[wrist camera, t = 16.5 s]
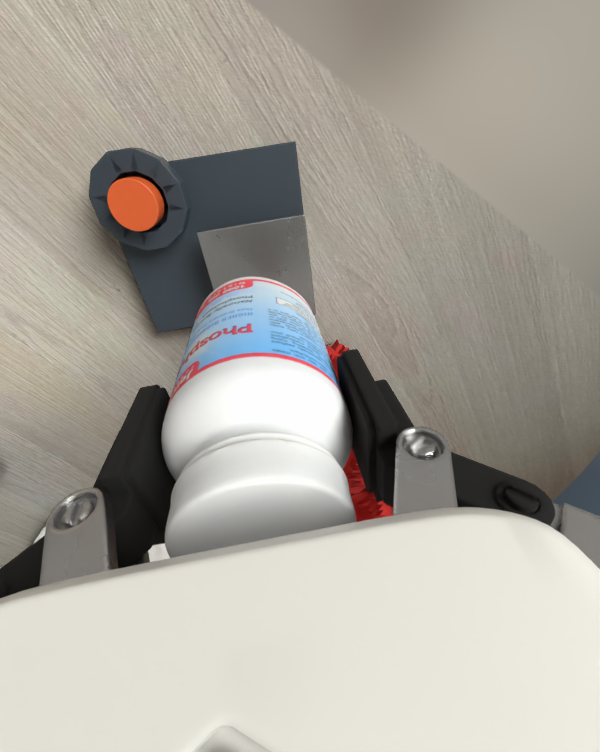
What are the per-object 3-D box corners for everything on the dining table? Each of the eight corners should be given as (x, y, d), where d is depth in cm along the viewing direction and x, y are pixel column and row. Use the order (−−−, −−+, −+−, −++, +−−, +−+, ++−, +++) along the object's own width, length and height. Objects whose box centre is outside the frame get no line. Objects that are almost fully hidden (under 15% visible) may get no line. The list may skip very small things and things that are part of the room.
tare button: (108, 180, 21) (97, 182, 20) (154, 173, 21) (147, 174, 20) (128, 230, 23) (119, 235, 21) (171, 223, 23) (165, 227, 21)
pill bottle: (225, 248, 14) (183, 412, 5) (336, 308, 17) (441, 496, 8) (178, 353, 17) (94, 586, 8) (279, 393, 19) (306, 609, 10)
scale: (93, 157, 23) (70, 157, 20) (290, 125, 23) (296, 121, 20) (162, 324, 30) (152, 342, 27) (311, 298, 30) (317, 313, 28)
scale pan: (197, 230, 23) (196, 232, 22) (303, 213, 23) (305, 214, 23) (225, 327, 27) (225, 330, 27) (314, 311, 27) (315, 314, 27)
